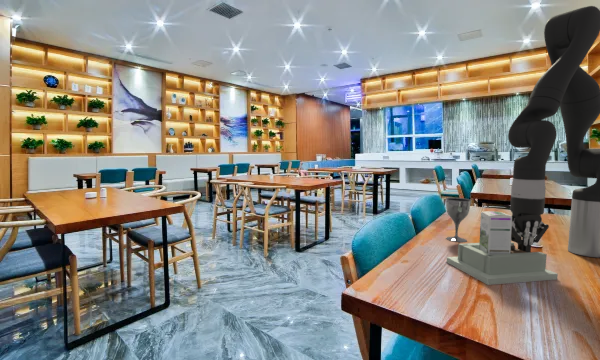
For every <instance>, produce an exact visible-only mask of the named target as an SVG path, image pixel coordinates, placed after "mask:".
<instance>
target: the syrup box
mask: <svg viewBox="0 0 600 360" xmlns="http://www.w3.org/2000/svg"><path fill="white" fill-rule="evenodd" d="M511 230H512V215H510V214H509V213H508V214H507V213H505V212H502V211H496V210H495V211H493V210H489V211H481V212H480V224H479V243H480V244H479V250H481V251H483V252H486V253H488V254H491V255H495V254H510V251H511V242H512V241H511Z"/></svg>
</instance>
